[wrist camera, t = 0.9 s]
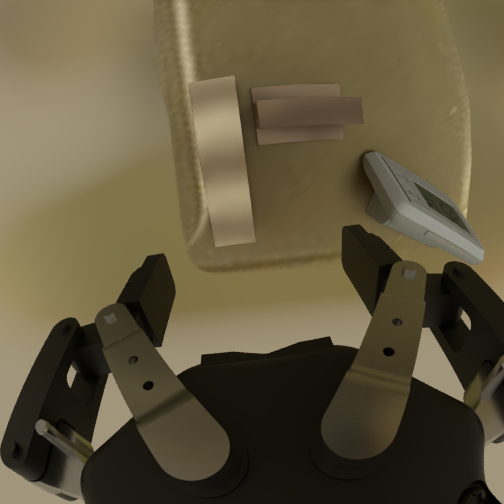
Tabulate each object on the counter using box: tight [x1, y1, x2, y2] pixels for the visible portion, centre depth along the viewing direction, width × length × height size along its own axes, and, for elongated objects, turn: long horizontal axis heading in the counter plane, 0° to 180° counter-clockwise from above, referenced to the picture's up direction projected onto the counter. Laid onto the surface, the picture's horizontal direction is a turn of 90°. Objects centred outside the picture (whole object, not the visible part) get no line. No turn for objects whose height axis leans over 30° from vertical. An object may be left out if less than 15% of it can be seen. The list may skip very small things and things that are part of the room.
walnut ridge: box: [250, 84, 363, 146], centre depth 22 cm, size 6×9×6 cm, turn 97°
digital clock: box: [363, 151, 484, 265], centre depth 25 cm, size 16×9×11 cm, turn 59°
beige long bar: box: [189, 76, 256, 247], centre depth 25 cm, size 16×4×4 cm, turn 7°
